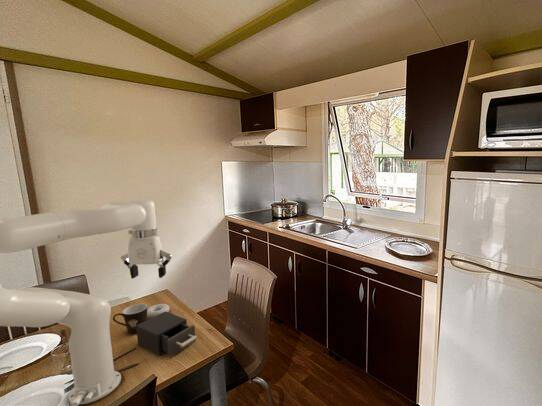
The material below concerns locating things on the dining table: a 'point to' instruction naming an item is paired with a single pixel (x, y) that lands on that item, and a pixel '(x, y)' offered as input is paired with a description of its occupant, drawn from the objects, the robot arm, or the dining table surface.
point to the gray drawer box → (156, 330)
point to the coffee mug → (133, 317)
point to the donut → (157, 310)
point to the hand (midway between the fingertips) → (148, 276)
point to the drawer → (177, 339)
